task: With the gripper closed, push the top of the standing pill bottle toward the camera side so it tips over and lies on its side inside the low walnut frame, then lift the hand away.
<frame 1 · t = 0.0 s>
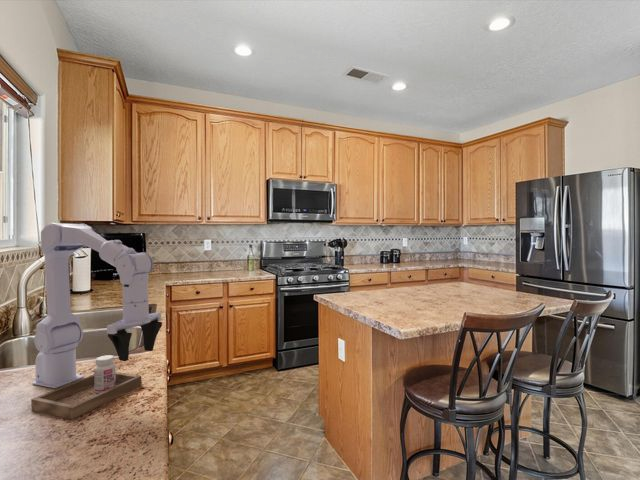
hand: (136, 355, 88), 10 cm above the countertop, tool pointing down, fingers open, 7 cm apart
walnut frame: (90, 396, 88), on the countertop
pill bottle: (105, 390, 92), resting in walnut frame
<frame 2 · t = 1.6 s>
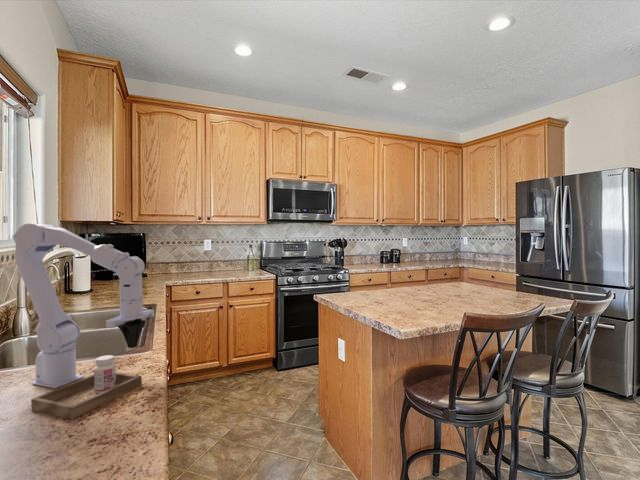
hand: (132, 347, 100), 9 cm above the countertop, tool pointing down, fingers closed
nothing on the countertop moved.
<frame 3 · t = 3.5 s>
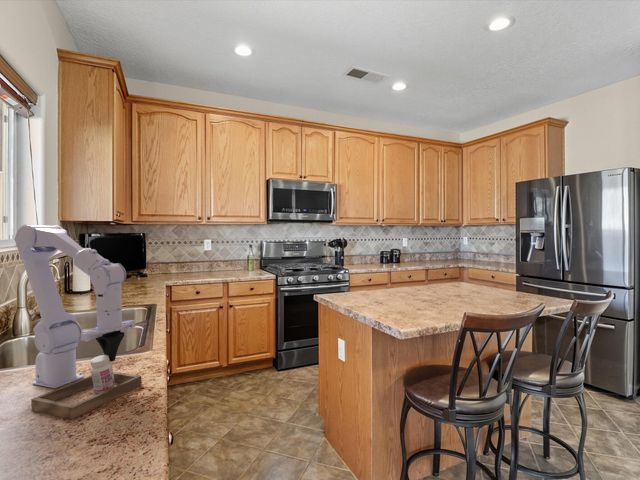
hand: (110, 360, 93), 7 cm above the countertop, tool pointing down, fingers closed
pill bottle: (105, 388, 92), resting in walnut frame, touching gripper
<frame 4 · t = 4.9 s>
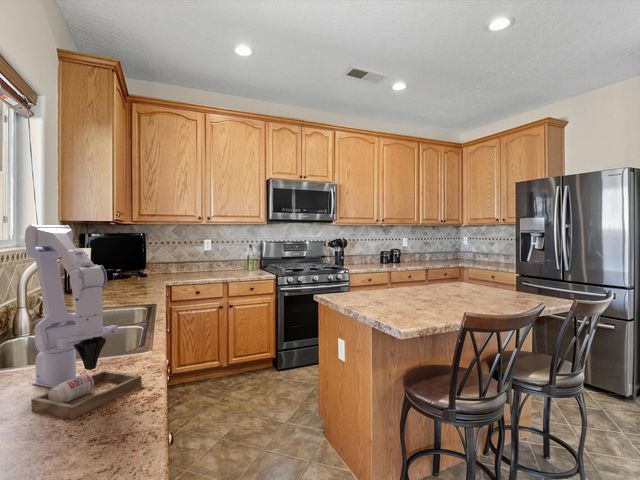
hand: (90, 368, 88), 7 cm above the countertop, tool pointing down, fingers closed
pill bottle: (88, 382, 91), point 2 cm above the countertop, touching walnut frame
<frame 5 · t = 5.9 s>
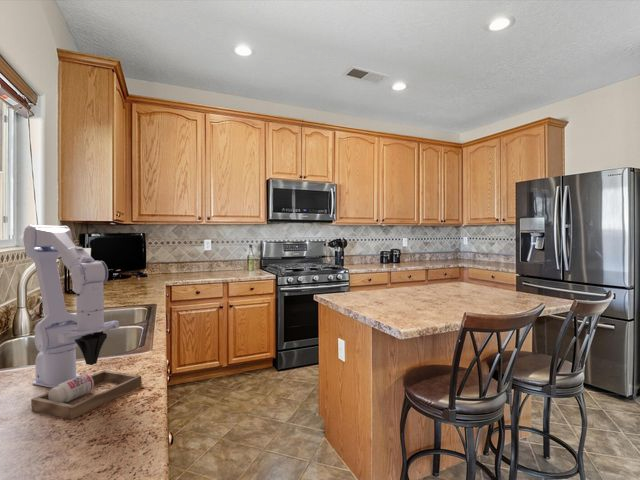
hand: (91, 363, 88), 8 cm above the countertop, tool pointing down, fingers closed
nothing on the countertop moved.
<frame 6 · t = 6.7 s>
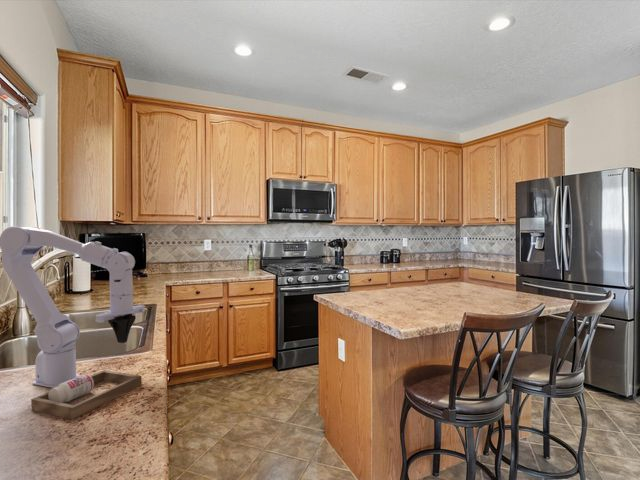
hand: (122, 342, 100), 10 cm above the countertop, tool pointing down, fingers closed
nothing on the countertop moved.
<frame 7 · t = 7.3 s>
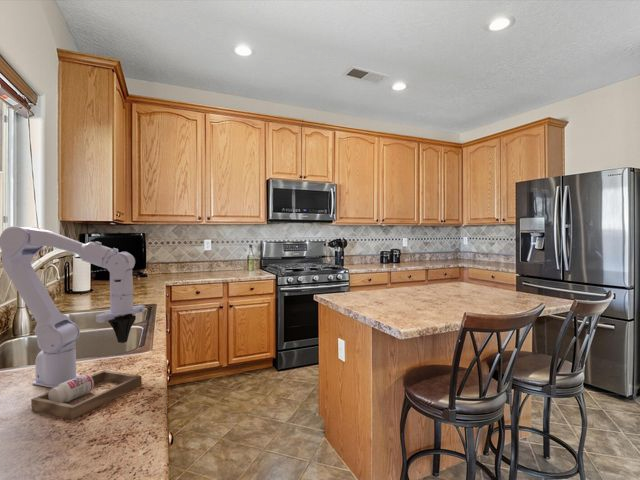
hand: (122, 342, 100), 10 cm above the countertop, tool pointing down, fingers closed
nothing on the countertop moved.
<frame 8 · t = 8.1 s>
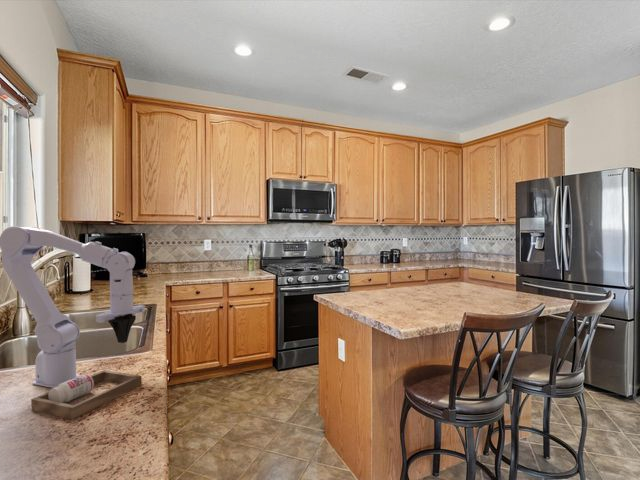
hand: (122, 342, 100), 10 cm above the countertop, tool pointing down, fingers closed
nothing on the countertop moved.
at the end: pill bottle tilted 91°; pill bottle inside the target area (3.8 cm from its centre), point 2.4 cm above the countertop; the gripper is holding nothing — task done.
